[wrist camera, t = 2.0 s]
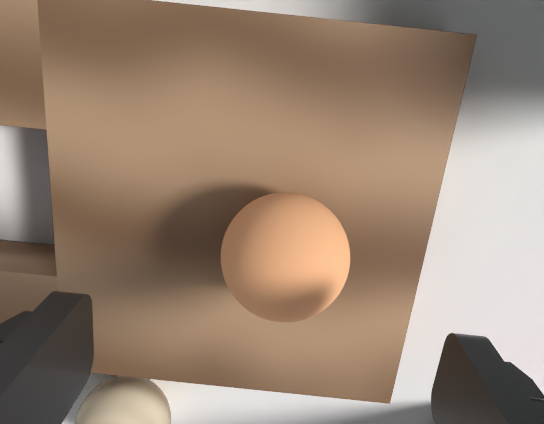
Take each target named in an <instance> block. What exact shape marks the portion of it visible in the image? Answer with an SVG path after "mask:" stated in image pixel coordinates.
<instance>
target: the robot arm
mask: <svg viewBox="0 0 544 424" xmlns="http://www.w3.org/2000/svg"><path fill="white" fill-rule="evenodd" d="M93 359H94V339H93V310H92V299H91V297H90V295H88V294H80V293H70V292H61V291H53V292H51V293H50V294H49V295H48V296H47V297H46V298H45V299H44V300H43V301H42V302H41V303H40V304H39V305H38V306H37V307H36V308H35V309H34V311H33V312H32V311H23V312H21V313H19V314H17V315H16V316H14V317H12V318H10V319H8V320H6V321H4V322H2V323H1V324H0V424H62V422H63V420H64V419H65V417H66V415H67V414H68V412H69V410H70V409H71V407H72V405H73V404H74V402H75V400H76V399H77V397H78V395H79V394H80V392H81V391H82V389H83V387H84V386H85V384H86V382H87V380H88V378H89V375H90V373H91V369H92V365H93ZM431 407H432V414H433V418H434V421H435V423H436V424H544V395H543V394H542V392H541V391H540V389H539V388H538V387H537V385H536V384H535V383H534V381H533V380H532V379H531V378H530V377H528V376H527V375H526V374H525V373H523V372H522V371H521V370H520V369H518V368H517V367H516V366H515V365H513V364H512V363H511V362H504V361H503V359H502V358H501V356H500V355H499V353H498V352H497V350H496V349H495V348H494V346H493V345H492V343H491V342H490V340H489V339H488V338H486V337H483V336H474V335H464V334H455V333H451V334H449V335H448V336H447V338H446V340H445V343H444V346H443V350H442V354H441V358H440V362H439V365H438V369H437V373H436V377H435V380H434V384H433V388H432V394H431Z"/></svg>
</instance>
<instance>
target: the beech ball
mask: <svg viewBox="0 0 544 424" xmlns="http://www.w3.org/2000/svg"><path fill="white" fill-rule="evenodd" d="M75 424H171V412H170V407H169V404H168V401H167V398H166V397H165V395H164V393H163V392H162V391H161V389H160V388H159V387H158V386H157V385H156V384H154V383H153V382H152V381H150V380H148V379H146V378H137V377H127V376H117V377H114V378H111V379H109V380H106V381H104V382H103V383H101V384H100V385H98V386H97V387H96V388H95V389H93V390H92V391H91V393H90V394H89V395H88V396H87V397H86V399H85V400H84V402H83V403H82V405H81V407H80V409H79V411H78V414H77V417H76V421H75Z"/></svg>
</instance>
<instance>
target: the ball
mask: <svg viewBox="0 0 544 424" xmlns="http://www.w3.org/2000/svg"><path fill="white" fill-rule="evenodd" d="M221 267H222V273H223V276H224V280H225V282H226V284H227V286H228V288H229V290H230V292H231V293H232V295H233V296H234V297H235V299H236V300H237V301H238V302H239V303H240V304H241V305H242V306H243V307H244V308H245V309H247V310H248V311H250V312H251V313H253V314H255V315H256V316H258V317H261V318H263V319H266V320H270V321H275V322H296V321H302V320H305V319H308V318H311V317H313V316H315V315H317V314H319V313H320V312H322V311H323V310H324V309H326V308H327V307H328V306H329V305H330V304H331V303H332V302H333V301H334V300H335V299H336V298H337V296H338V295H339V294H340V292H341V290H342V288H343V286H344V284H345V282H346V280H347V276H348V272H349V267H350V248H349V243H348V239H347V236H346V233H345V231H344V229H343V227H342V225H341V223H340V222H339V220H338V219H337V217H336V216H335V215H334V214H333V213H332V212H331V211H330V210H329V209H328V208H327V207H326V206H324V205H323V204H322V203H320V202H318V201H317V200H315V199H313V198H311V197H308V196H305V195H302V194H297V193H288V192H282V193H273V194H269V195H265V196H263V197H260V198H258V199H256V200H254V201H252V202H251V203H249V204H248V205H246V206H245V207H244V208H243V209H242V210H241V211H239V212H238V214H237V215H236V216H235V217H234V218H233V220H232V221H231V223H230V224H229V226H228V228H227V231H226V233H225V235H224V238H223V242H222V248H221Z"/></svg>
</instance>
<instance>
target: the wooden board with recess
mask: <svg viewBox="0 0 544 424" xmlns="http://www.w3.org/2000/svg"><path fill="white" fill-rule="evenodd" d="M476 36H477V35H475V34H466V33H456V32H447V31H437V30H428V29H418V28H409V27H399V26H390V25H380V24H371V23H361V22H352V21H342V20H333V19H323V18H314V17H304V16H295V15H285V14H276V13H266V12H257V11H247V10H238V9H228V8H219V7H209V6H200V5H190V4H181V3H171V2H162V1H153V0H0V125H7V126H16V127H26V128H35V129H45V130H47V144H48V158H49V172H50V186H51V200H52V214H53V228H54V242H55V245H45V244H35V243H26V242H16V241H6V240H0V324H1V323H2V322H4V321H6V320H8V319H10V318H12V317H14V316H16V315H17V314H19V313H21V312H23V311H32V312H33V311H34V309H35V308H36V307H37V306H38V305H39V304H40V303H41V302H42V301H43V300H44V299H45V298H46V297H47V296H48V295H49V294H50V293H51V292H53V291H61V292H70V293H80V294H88V295H90V297H91V299H92V310H93V339H94V359H93V365H92V369H91V373H98V374H108V375H118V376H127V377H137V378H147V379H157V380H166V381H176V382H186V383H195V384H205V385H215V386H224V387H234V388H244V389H254V390H263V391H273V392H283V393H292V394H302V395H312V396H321V397H331V398H341V399H351V400H360V401H370V402H380V403H389V404H390V401H391V396H392V392H393V388H394V384H395V379H396V375H397V371H398V367H399V362H400V358H401V354H402V350H403V345H404V341H405V337H406V333H407V328H408V324H409V320H410V316H411V312H412V307H413V303H414V299H415V295H416V290H417V286H418V282H419V278H420V273H421V269H422V265H423V261H424V256H425V252H426V248H427V244H428V239H429V235H430V231H431V227H432V222H433V218H434V214H435V210H436V205H437V201H438V197H439V193H440V189H441V184H442V180H443V176H444V172H445V167H446V163H447V159H448V155H449V150H450V146H451V142H452V138H453V133H454V129H455V125H456V121H457V116H458V112H459V108H460V104H461V99H462V95H463V91H464V87H465V83H466V78H467V74H468V70H469V66H470V61H471V57H472V53H473V49H474V44H475V40H476ZM282 192H288V193H297V194H302V195H305V196H308V197H311V198H313V199H315V200H317V201H318V202H320V203H322V204H323V205H324V206H326V207H327V208H328V209H329V210H330V211H331V212H332V213H333V214H334V215H335V216H336V217H337V219H338V220H339V222H340V223H341V225H342V227H343V229H344V231H345V233H346V236H347V239H348V243H349V248H350V267H349V272H348V276H347V280H346V282H345V284H344V286H343V288H342V290H341V292H340V294H339V295H338V296H337V298H336V299H335V300H334V301H333V302H332V303H331V304H330V305H329V306H328V307H327V308H326V309H324V310H323V311H322V312H320V313H319V314H317V315H315V316H313V317H311V318H308V319H305V320H302V321H296V322H275V321H270V320H266V319H263V318H261V317H258V316H256V315H255V314H253V313H251V312H250V311H248V310H247V309H245V308H244V307H243V306H242V305H241V304H240V303H239V302H238V301H237V300H236V299H235V297H234V296H233V295H232V293H231V292H230V290H229V288H228V286H227V284H226V282H225V280H224V276H223V273H222V267H221V248H222V242H223V238H224V235H225V233H226V231H227V228H228V226H229V224H230V223H231V221H232V220H233V218H234V217H235V216H236V215H237V214H238V212H239V211H241V210H242V209H243V208H244V207H245V206H246V205H248V204H249V203H251V202H252V201H254V200H256V199H258V198H260V197H263V196H265V195H269V194H273V193H282Z"/></svg>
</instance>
